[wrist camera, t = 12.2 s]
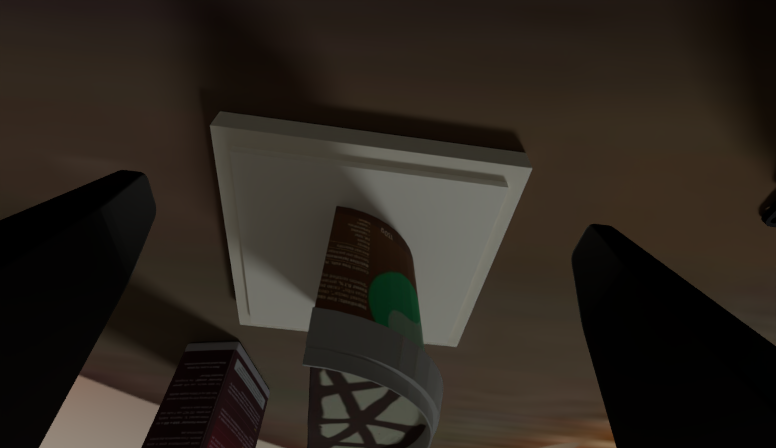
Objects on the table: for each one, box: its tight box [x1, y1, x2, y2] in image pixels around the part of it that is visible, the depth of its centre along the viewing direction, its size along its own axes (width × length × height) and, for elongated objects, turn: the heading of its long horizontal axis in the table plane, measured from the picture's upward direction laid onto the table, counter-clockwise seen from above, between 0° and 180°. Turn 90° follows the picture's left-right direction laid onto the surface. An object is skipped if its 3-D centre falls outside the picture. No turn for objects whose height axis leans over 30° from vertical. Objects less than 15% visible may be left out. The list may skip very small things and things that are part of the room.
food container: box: [303, 206, 443, 448], centre depth 22 cm, size 12×6×10 cm, turn 172°
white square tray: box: [210, 111, 532, 347], centre depth 26 cm, size 16×16×2 cm
